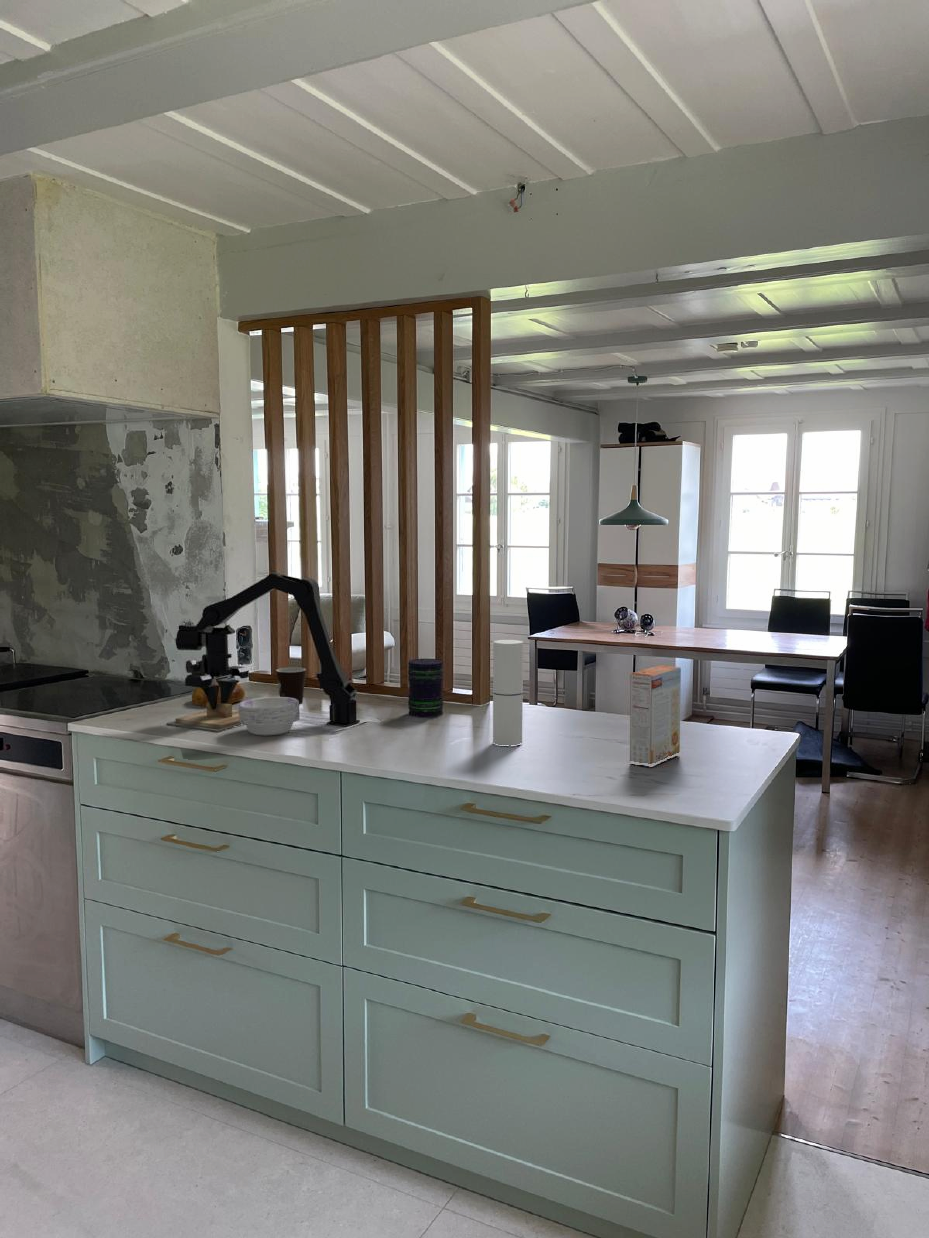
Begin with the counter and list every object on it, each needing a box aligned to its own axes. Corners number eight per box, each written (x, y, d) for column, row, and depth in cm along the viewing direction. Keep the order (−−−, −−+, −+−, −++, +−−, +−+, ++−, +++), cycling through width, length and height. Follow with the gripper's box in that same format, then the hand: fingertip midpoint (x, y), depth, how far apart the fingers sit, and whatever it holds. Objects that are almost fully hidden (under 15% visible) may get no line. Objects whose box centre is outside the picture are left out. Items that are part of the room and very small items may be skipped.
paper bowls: (235, 727, 242) (235, 697, 241) (294, 723, 248) (293, 694, 247) (243, 740, 228) (242, 709, 227) (304, 736, 233) (304, 705, 232)
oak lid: (262, 717, 253) (262, 701, 253) (221, 728, 239) (220, 712, 239) (218, 711, 261) (217, 695, 260) (175, 722, 247) (175, 705, 246)
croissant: (251, 709, 277) (254, 682, 277) (205, 709, 265) (208, 682, 265) (225, 701, 287) (228, 675, 286) (179, 701, 275) (182, 674, 275)
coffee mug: (303, 706, 270) (302, 672, 269) (273, 706, 270) (273, 672, 269) (310, 698, 282) (310, 666, 280) (282, 698, 282) (281, 665, 281)
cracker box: (657, 752, 218) (659, 664, 216) (680, 756, 214) (683, 666, 212) (627, 764, 207) (629, 671, 205) (651, 768, 203) (653, 674, 201)
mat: (269, 717, 255) (269, 716, 254) (217, 732, 237) (217, 730, 237) (219, 711, 263) (219, 709, 263) (166, 724, 246) (166, 723, 245)
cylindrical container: (497, 747, 222) (498, 644, 219) (489, 741, 228) (489, 640, 226) (526, 746, 223) (527, 643, 221) (516, 739, 230) (517, 639, 228)
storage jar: (449, 715, 258) (449, 662, 256) (416, 718, 253) (416, 664, 252) (434, 709, 266) (434, 657, 265) (402, 712, 262) (402, 659, 261)
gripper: (218, 644, 260) (220, 699, 262) (168, 652, 244) (170, 711, 245) (249, 647, 255) (250, 703, 256) (200, 655, 238) (202, 715, 240)
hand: (218, 708), depth 250 cm, fingers open, 4 cm apart
